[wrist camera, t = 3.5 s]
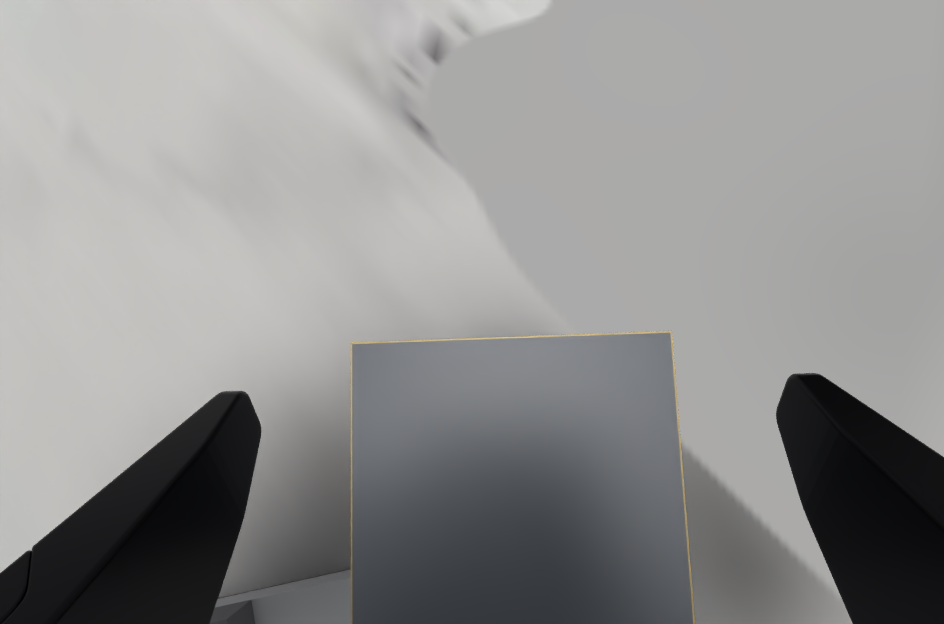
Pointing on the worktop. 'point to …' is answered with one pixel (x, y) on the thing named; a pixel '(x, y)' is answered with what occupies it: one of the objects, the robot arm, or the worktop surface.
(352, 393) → the grey block
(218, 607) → the pad
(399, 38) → the worktop surface
